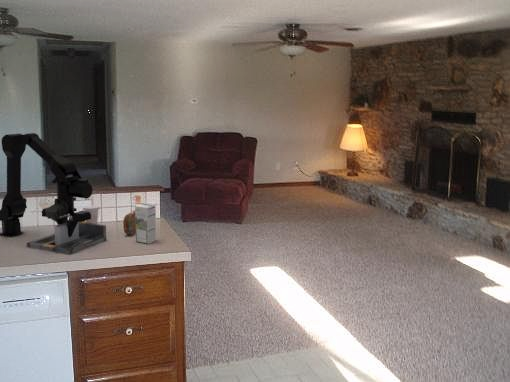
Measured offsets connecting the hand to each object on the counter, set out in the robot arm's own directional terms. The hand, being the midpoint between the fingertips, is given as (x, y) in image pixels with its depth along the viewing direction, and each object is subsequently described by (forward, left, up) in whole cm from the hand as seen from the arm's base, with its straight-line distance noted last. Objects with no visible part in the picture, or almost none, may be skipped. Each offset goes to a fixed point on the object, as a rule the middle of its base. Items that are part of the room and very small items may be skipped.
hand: (67, 236), depth 204 cm
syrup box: (+24, +16, -3) cm, 29 cm away
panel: (0, 0, -2) cm, 2 cm away
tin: (+12, +25, -3) cm, 28 cm away
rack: (0, 0, -3) cm, 3 cm away
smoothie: (-5, +20, -3) cm, 21 cm away
